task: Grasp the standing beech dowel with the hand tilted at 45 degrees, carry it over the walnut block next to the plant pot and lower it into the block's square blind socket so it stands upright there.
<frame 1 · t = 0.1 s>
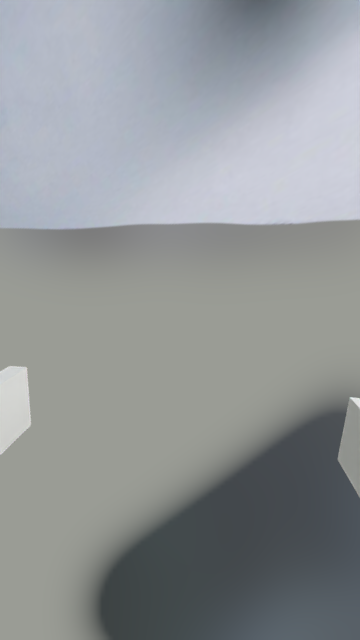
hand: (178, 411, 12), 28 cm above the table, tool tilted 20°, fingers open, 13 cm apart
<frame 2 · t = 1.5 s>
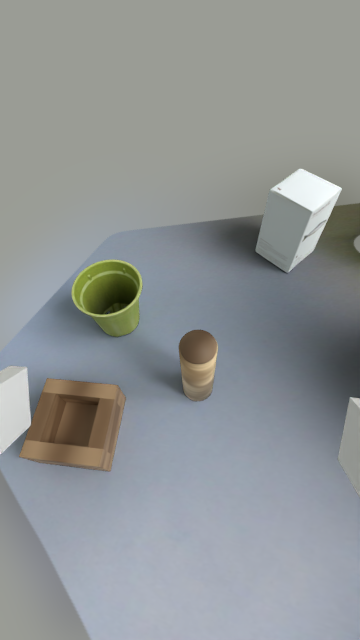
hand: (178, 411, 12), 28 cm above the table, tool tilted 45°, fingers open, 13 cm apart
supplement box: (283, 252, 54), on the table
plant pot: (120, 321, 48), on the table
dowel: (197, 386, 42), on the table
socket block: (84, 428, 39), on the table
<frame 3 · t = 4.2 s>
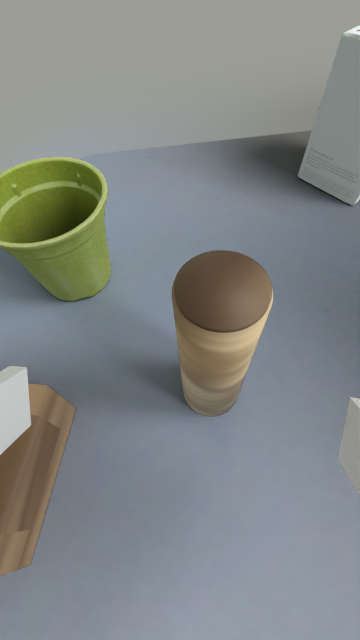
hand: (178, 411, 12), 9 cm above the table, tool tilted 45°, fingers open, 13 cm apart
supplement box: (341, 179, 35), on the table
plant pot: (80, 277, 29), on the table
dowel: (210, 388, 22), on the table
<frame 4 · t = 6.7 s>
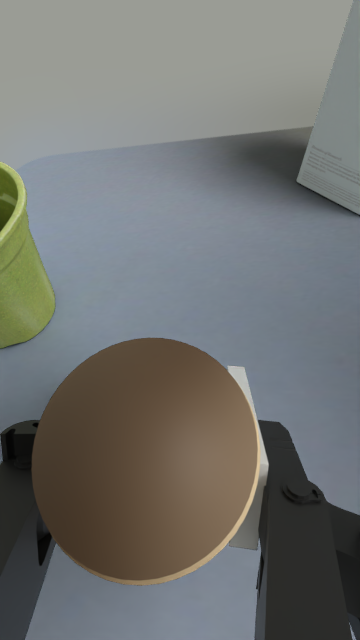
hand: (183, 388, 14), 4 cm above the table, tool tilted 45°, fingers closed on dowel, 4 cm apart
supplement box: (350, 184, 28), on the table
plant pot: (16, 313, 22), on the table
dowel: (178, 484, 16), on the table, touching gripper
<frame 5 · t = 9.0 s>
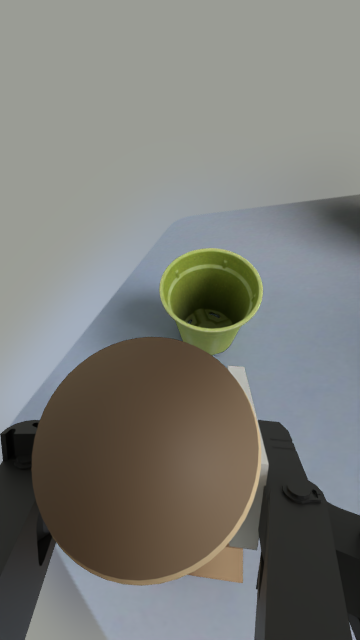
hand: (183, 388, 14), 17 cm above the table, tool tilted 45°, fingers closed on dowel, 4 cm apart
plant pot: (208, 333, 35), on the table
dowel: (178, 484, 16), point 13 cm above the table, touching gripper
socket block: (183, 496, 27), on the table
when the fingers open (8 cm above the table, at t = 11.3 s): dowel drops 2 cm, resting on socket block.
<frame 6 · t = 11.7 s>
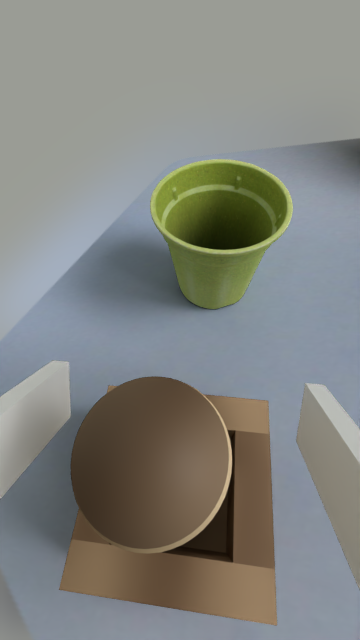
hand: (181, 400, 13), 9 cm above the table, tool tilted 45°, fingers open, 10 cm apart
plant pot: (213, 283, 28), on the table
dowel: (180, 487, 18), point 2 cm above the table, touching socket block
socket block: (181, 488, 19), on the table
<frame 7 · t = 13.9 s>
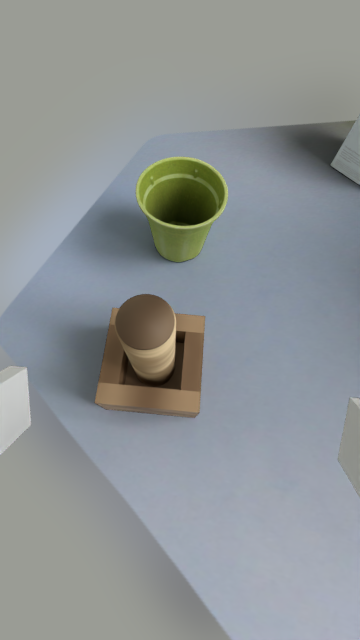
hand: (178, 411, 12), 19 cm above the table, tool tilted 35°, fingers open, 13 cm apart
plant pot: (179, 243, 39), on the table
dowel: (154, 366, 31), point 2 cm above the table, touching socket block
socket block: (155, 369, 32), on the table
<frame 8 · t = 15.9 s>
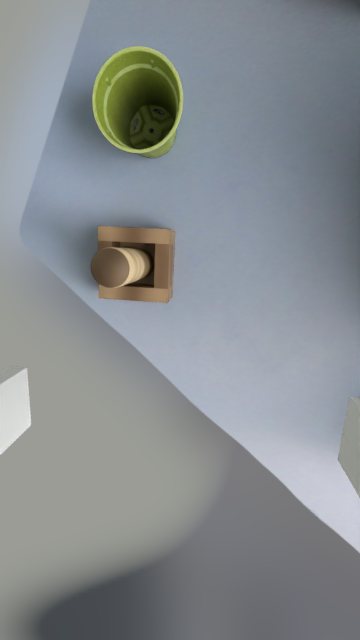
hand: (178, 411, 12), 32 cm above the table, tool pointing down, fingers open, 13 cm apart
plant pot: (153, 133, 39), on the table
dowel: (139, 263, 42), point 2 cm above the table, touching socket block
socket block: (142, 263, 43), on the table
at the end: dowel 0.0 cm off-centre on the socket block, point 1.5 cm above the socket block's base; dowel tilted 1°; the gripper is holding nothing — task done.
